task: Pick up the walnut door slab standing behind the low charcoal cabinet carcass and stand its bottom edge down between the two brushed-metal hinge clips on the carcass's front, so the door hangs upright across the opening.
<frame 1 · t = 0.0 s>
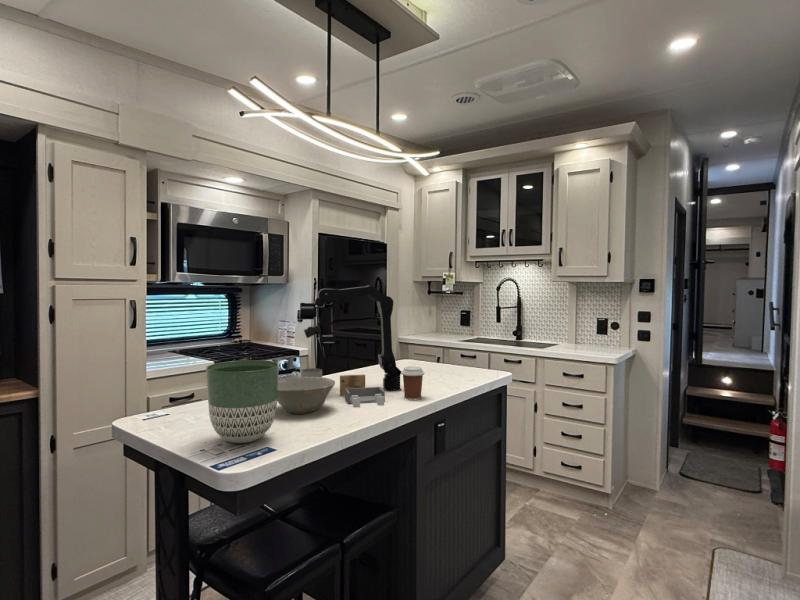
hand: (325, 357, 192), 15 cm above the countertop, fingers open, 9 cm apart
coffee cup: (412, 398, 184), on the countertop
planter: (243, 441, 134), on the countertop
ceramic bowl: (302, 411, 165), on the countertop
cup: (311, 395, 189), on the countertop
carcass: (365, 400, 179), on the countertop
door: (352, 395, 189), on the countertop
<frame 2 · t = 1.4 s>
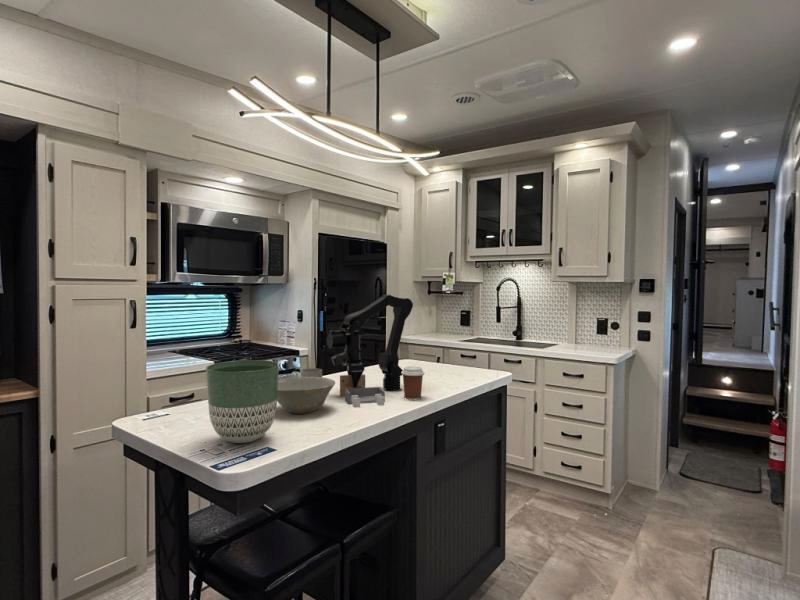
hand: (352, 384, 189), 4 cm above the countertop, fingers open, 9 cm apart
nothing on the countertop moved.
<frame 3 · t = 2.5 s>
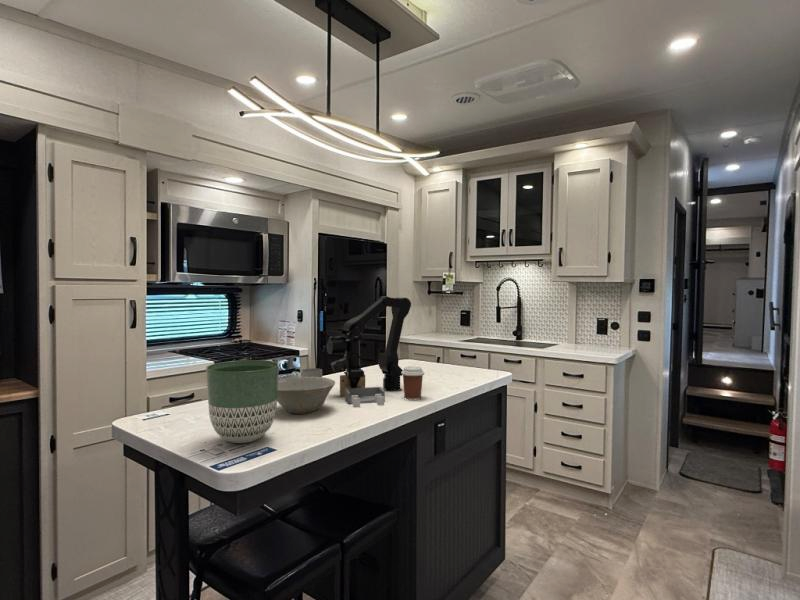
hand: (352, 390, 189), 2 cm above the countertop, fingers closed on door, 2 cm apart
door: (352, 394, 189), on the countertop, touching gripper
everything else where it was.
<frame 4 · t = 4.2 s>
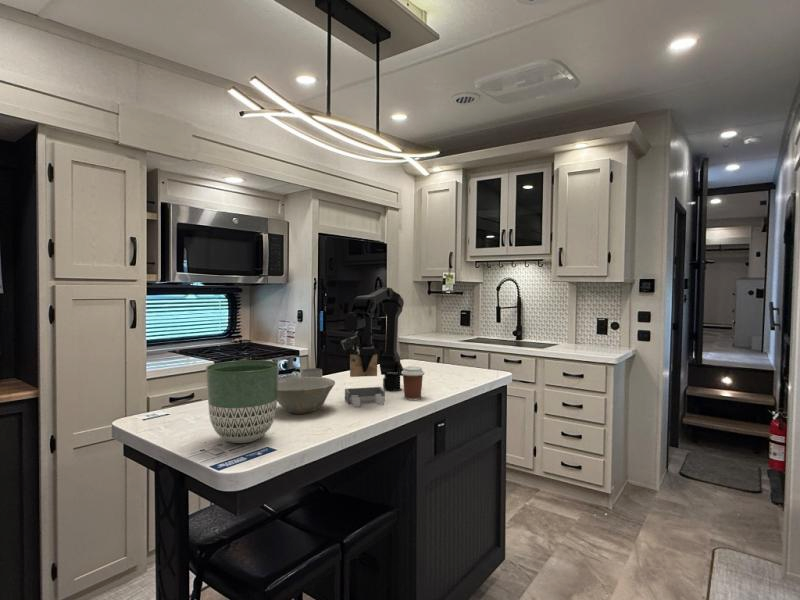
hand: (363, 371, 176), 12 cm above the countertop, fingers closed on door
door: (363, 375, 176), point 10 cm above the countertop, touching gripper
everything else where it was.
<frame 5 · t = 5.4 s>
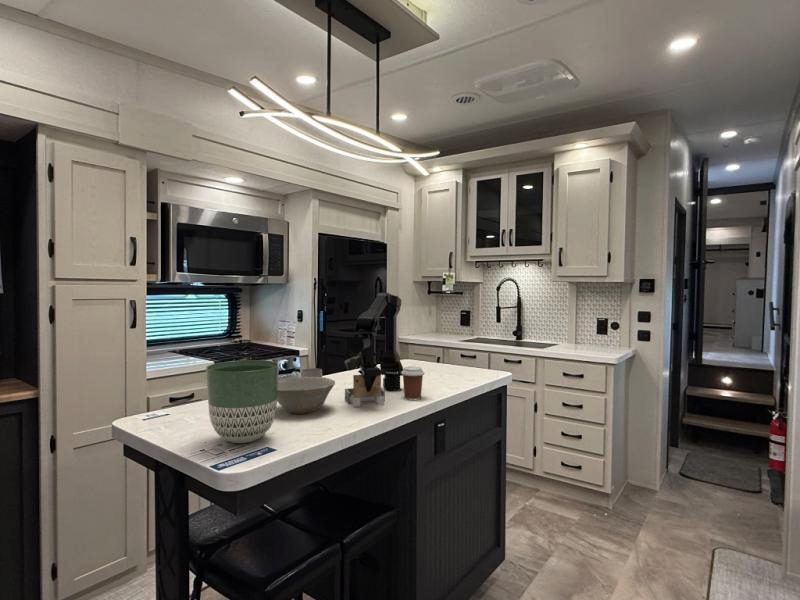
hand: (367, 390, 174), 5 cm above the countertop, fingers closed on door
door: (367, 396, 174), point 3 cm above the countertop, touching gripper
everything else where it was.
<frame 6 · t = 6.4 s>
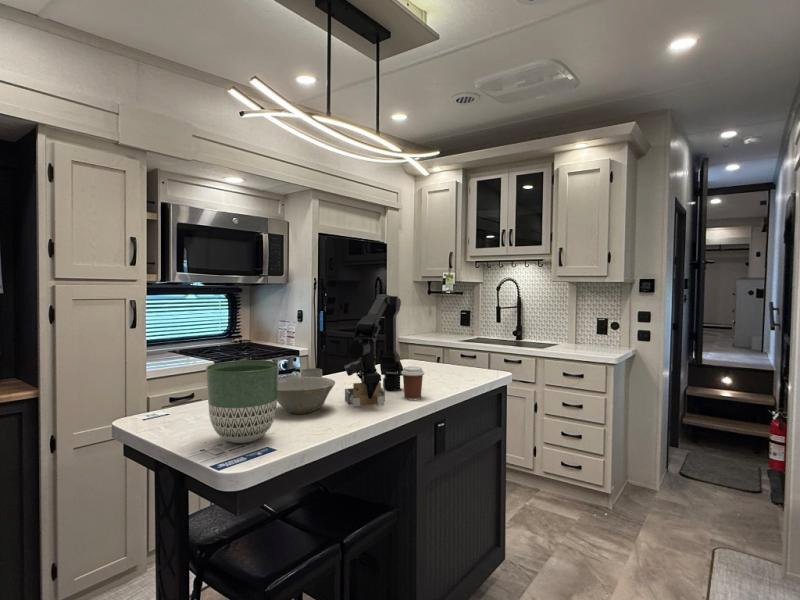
hand: (367, 396, 174), 3 cm above the countertop, fingers open, 8 cm apart
door: (367, 404, 174), on the countertop
everything else where it was.
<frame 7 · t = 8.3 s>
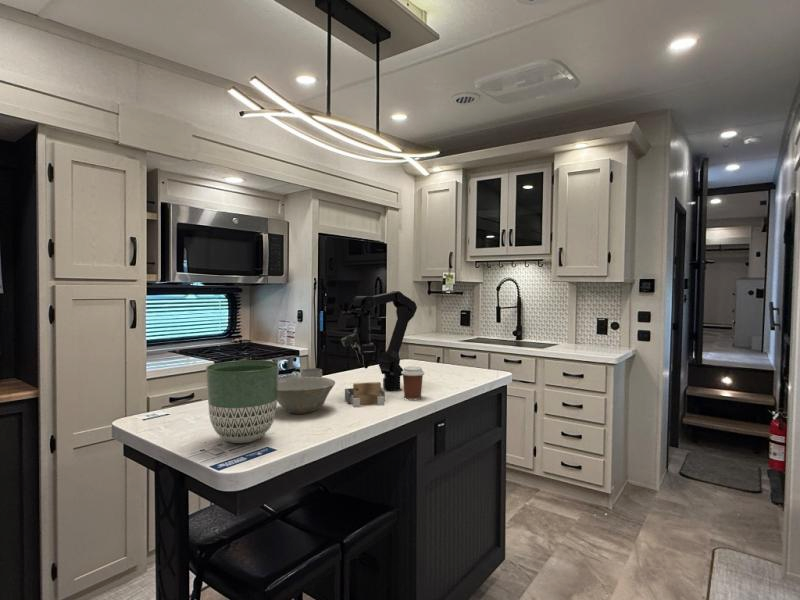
hand: (363, 366, 188), 12 cm above the countertop, fingers open, 9 cm apart
nothing on the countertop moved.
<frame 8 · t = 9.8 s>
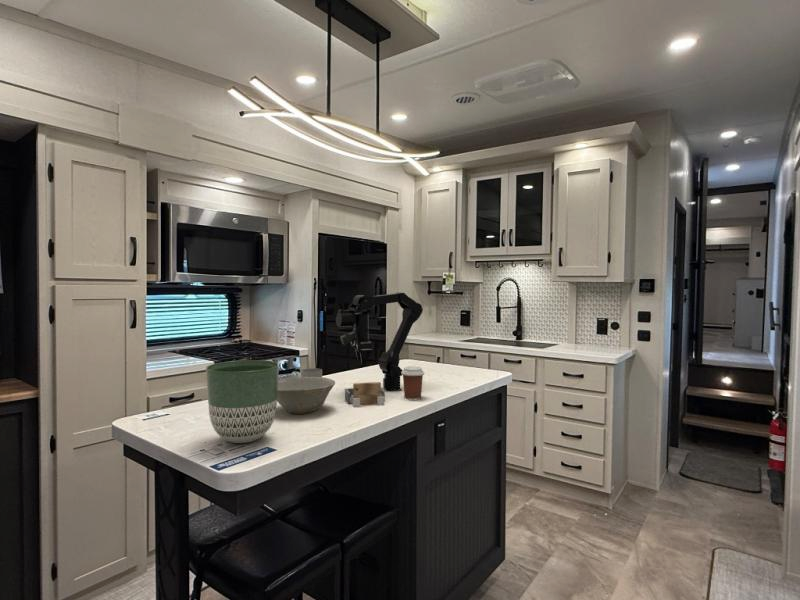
hand: (361, 364, 192), 12 cm above the countertop, fingers open, 9 cm apart
nothing on the countertop moved.
at the end: door 0.2 cm from the target spot on the carcass, point 0.0 cm above the carcass's base; door tilted 0°; the gripper is holding nothing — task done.
